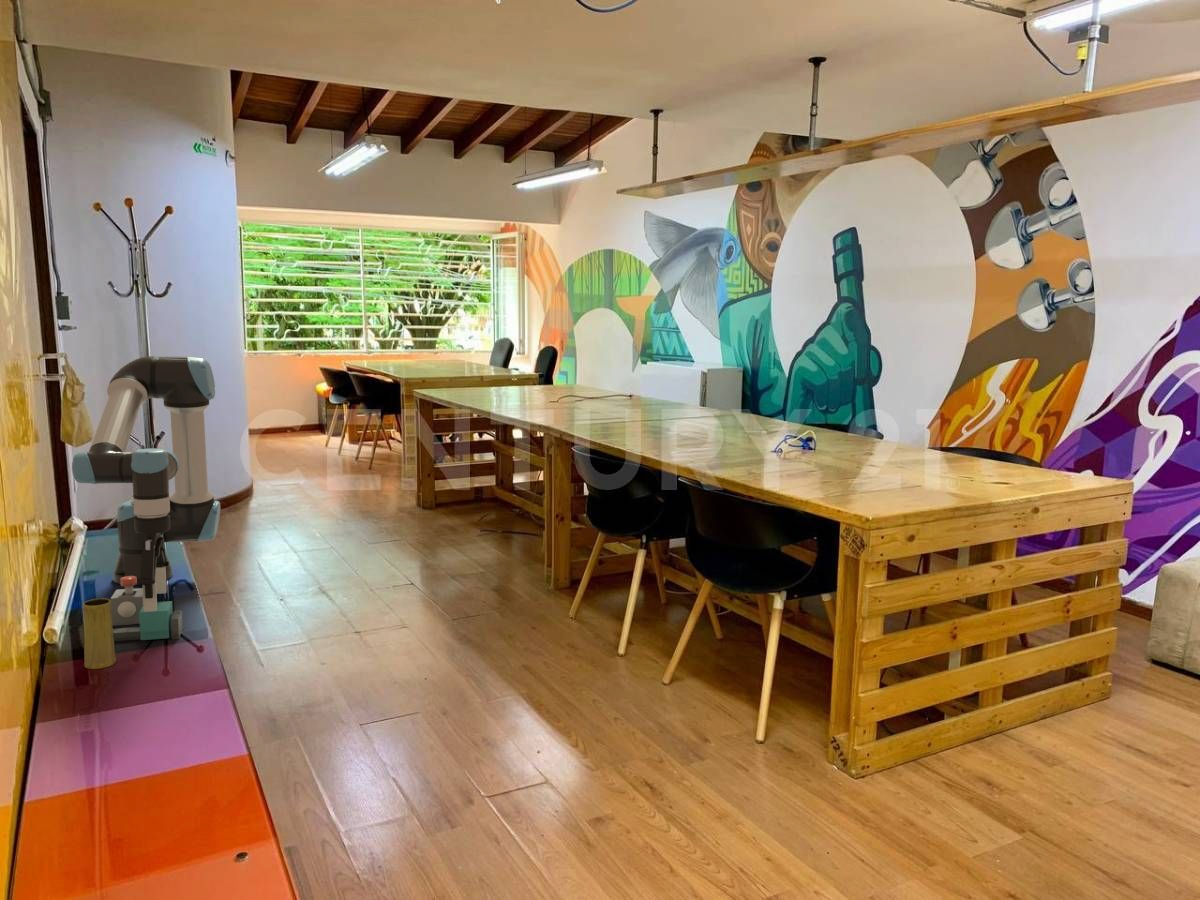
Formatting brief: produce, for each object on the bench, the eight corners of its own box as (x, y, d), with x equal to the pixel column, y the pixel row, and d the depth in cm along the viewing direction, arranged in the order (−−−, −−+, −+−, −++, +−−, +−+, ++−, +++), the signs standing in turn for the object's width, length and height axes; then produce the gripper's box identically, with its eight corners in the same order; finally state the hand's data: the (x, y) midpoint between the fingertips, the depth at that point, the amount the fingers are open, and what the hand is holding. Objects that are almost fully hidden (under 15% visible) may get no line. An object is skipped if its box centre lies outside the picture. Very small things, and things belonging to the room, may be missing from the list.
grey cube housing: (117, 616, 215) (116, 589, 214) (148, 614, 218) (147, 587, 217) (111, 626, 209) (110, 598, 208) (143, 623, 211) (142, 596, 210)
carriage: (140, 641, 199) (139, 612, 198) (145, 630, 206) (144, 602, 205) (168, 638, 201) (167, 610, 200) (173, 628, 208) (172, 601, 207)
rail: (87, 645, 196) (86, 625, 196) (93, 636, 202) (92, 616, 201) (178, 638, 203) (178, 618, 202) (182, 629, 208) (181, 610, 207)
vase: (78, 665, 186) (74, 603, 183) (105, 656, 191) (102, 595, 189) (95, 671, 183) (91, 608, 181) (122, 662, 188) (119, 600, 186)
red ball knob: (122, 596, 214) (121, 576, 213) (138, 595, 215) (137, 575, 214) (119, 600, 210) (118, 580, 209) (136, 599, 211) (135, 579, 211)
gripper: (143, 504, 210) (147, 587, 213) (123, 527, 186) (127, 620, 189) (177, 503, 212) (180, 585, 215) (160, 526, 189) (164, 617, 192)
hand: (155, 601), depth 202 cm, fingers open, 13 cm apart
